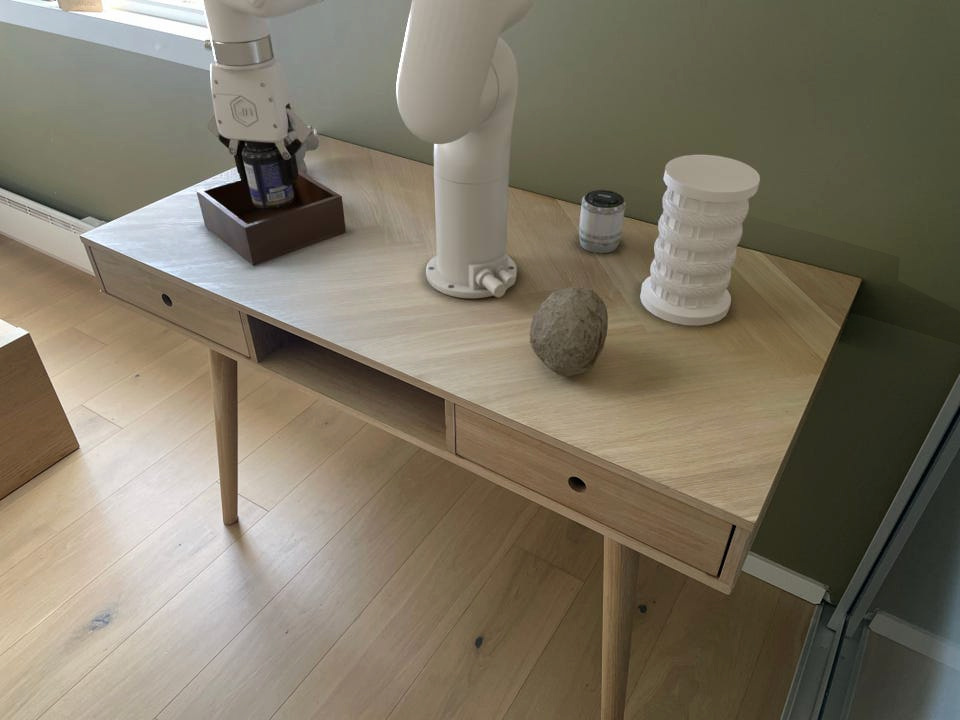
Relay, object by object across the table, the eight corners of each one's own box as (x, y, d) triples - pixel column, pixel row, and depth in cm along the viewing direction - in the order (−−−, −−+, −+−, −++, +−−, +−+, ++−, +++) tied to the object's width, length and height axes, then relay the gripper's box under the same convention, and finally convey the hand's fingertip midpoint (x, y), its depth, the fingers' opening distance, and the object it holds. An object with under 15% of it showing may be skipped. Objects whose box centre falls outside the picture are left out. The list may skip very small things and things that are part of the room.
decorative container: (641, 321, 91) (664, 189, 80) (638, 274, 100) (659, 150, 89) (734, 329, 90) (771, 196, 79) (723, 281, 99) (754, 156, 88)
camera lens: (583, 231, 111) (588, 183, 106) (623, 238, 109) (630, 190, 104) (572, 250, 106) (577, 200, 101) (614, 257, 104) (621, 208, 99)
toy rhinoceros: (336, 163, 131) (330, 116, 125) (289, 186, 123) (281, 137, 117) (306, 154, 134) (300, 108, 128) (259, 176, 126) (250, 128, 120)
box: (346, 232, 110) (342, 195, 106) (253, 266, 102) (244, 228, 98) (294, 198, 119) (289, 163, 115) (205, 227, 111) (196, 190, 107)
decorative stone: (548, 333, 89) (553, 263, 83) (613, 352, 86) (624, 281, 80) (513, 379, 82) (517, 306, 76) (583, 401, 79) (592, 328, 73)
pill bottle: (300, 194, 109) (287, 122, 103) (287, 212, 104) (273, 137, 98) (261, 193, 110) (245, 121, 103) (246, 210, 105) (230, 136, 98)
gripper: (168, 55, 93) (203, 185, 104) (291, 62, 90) (313, 196, 100) (199, 40, 99) (229, 166, 110) (316, 46, 95) (334, 175, 106)
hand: (269, 179), depth 105 cm, fingers closed on pill bottle, 6 cm apart
